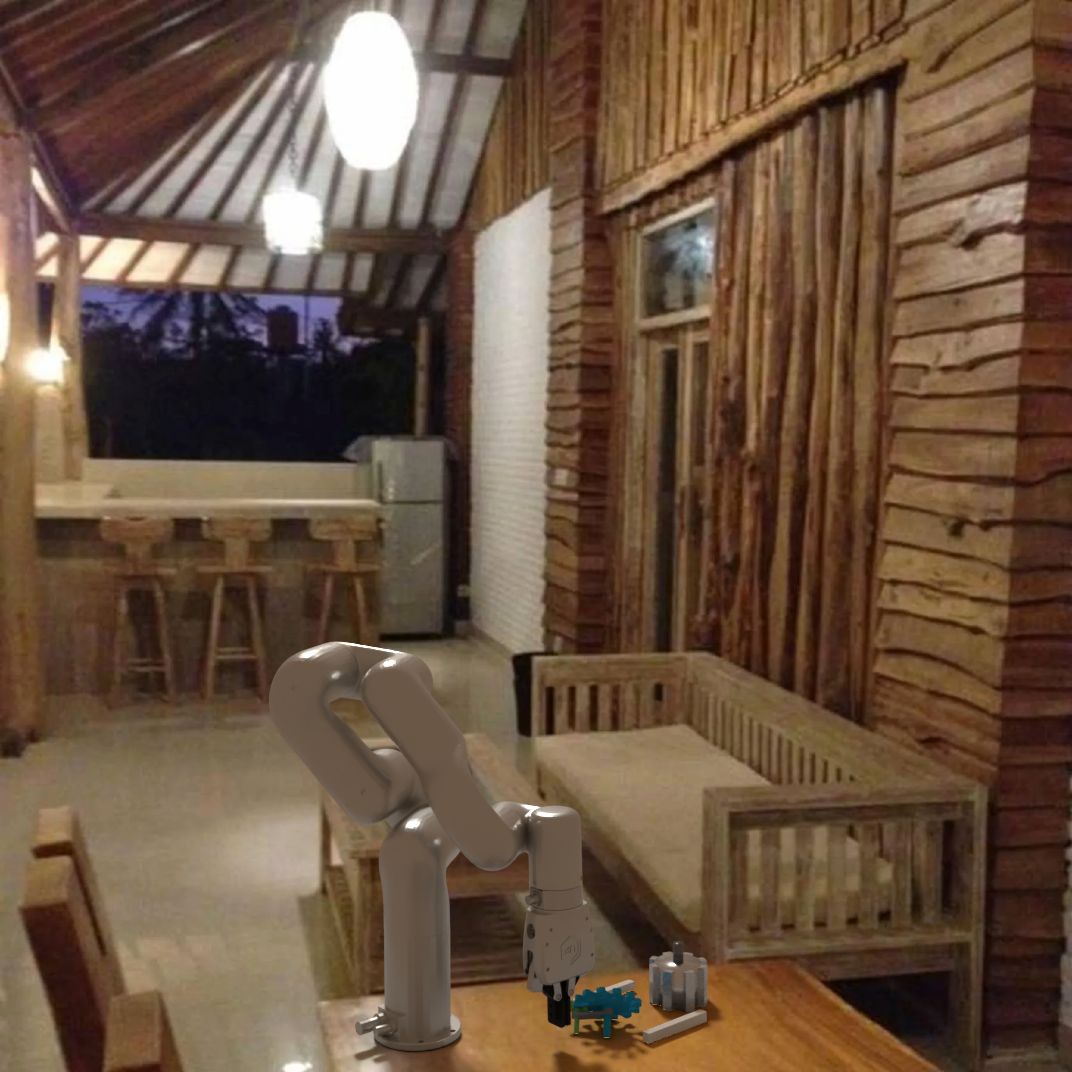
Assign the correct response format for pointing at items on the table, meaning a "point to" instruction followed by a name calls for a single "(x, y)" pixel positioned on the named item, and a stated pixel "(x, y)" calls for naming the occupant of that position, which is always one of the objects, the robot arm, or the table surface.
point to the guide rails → (668, 1027)
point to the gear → (603, 1006)
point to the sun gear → (678, 980)
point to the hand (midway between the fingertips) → (559, 1023)
